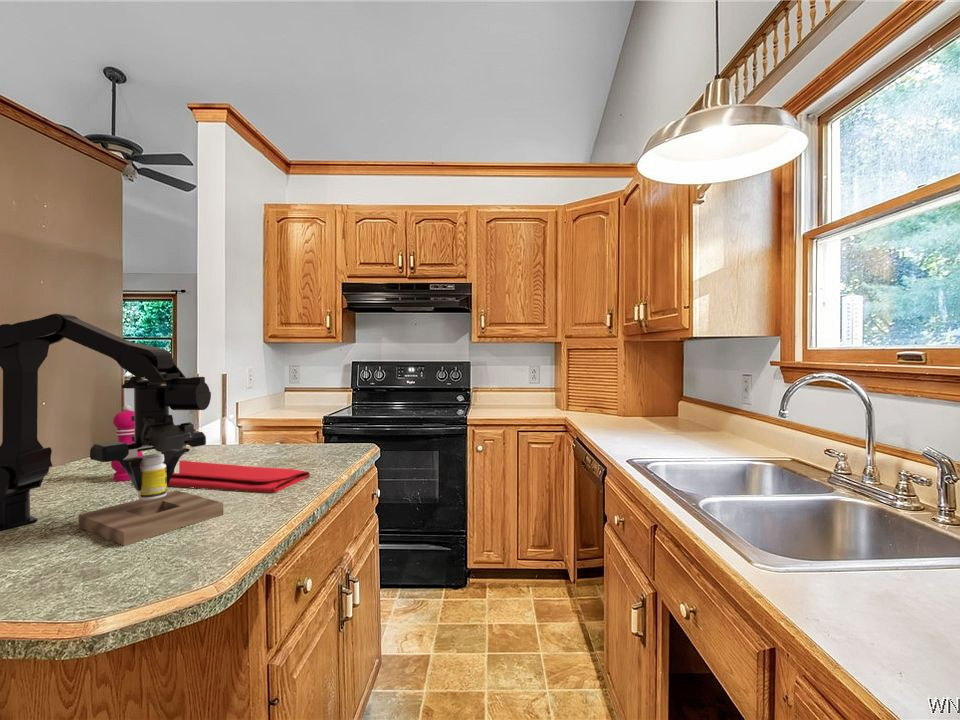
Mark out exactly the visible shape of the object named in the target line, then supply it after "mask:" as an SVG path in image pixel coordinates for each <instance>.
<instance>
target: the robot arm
mask: <svg viewBox="0 0 960 720" xmlns="http://www.w3.org/2000/svg"><path fill="white" fill-rule="evenodd" d="M64 339H67V340H70V341H72V342H74V343H77V344H78V345H81V346H83V347H85V348H88V349H90V350H92V351H95V352H97V353H99V354H102V355H104V356H107V357H108V358H110V359H113V360H114V361H115V362H116V363H117V364H118V365H119V366H120V368H121V369H123V370H124V371H126V372H127V373H129V374H131V375H132V376H131V377H130V379H128V380H127V381H125V382H124V383H123V384H122V385H121V388H122V389H133V401H134V402H133V408H134V409H133V411H134V416H131V421H134V430H135V436H132V441H133V442H135V443H129V444H126V443H122V442H118V440H117V441H116V440H115V441H107V442H101V443H100V442H99V443H93V445H92V446H91V448H90V450H89V460H94V461H97V462H101V463H107V462H108V463H111V461H118V462H119V463H120V464H121V465H122V467H123V468H124V469H125V471H126V472H127V474H128V476H129V478H130V480H131V481H130V482H131V483H132V485H133V487H134V489H135V490H136V491H137V492H138V491H140V490H141V470H140V464H141V461H142V459H143V458H141V457H138V452H139V451H141V452H145V451H150V450H155V451H157V452H160V454H164V462H163V463H164V464H166V468H167V469H166V471H167V484H169V482H170V479H171V476H172V474H173V471H174V469H175V466H176V464H177V462H178V461H180V458H181V457H182V456H183V455H185V454H186V453H188V452H190V450H191V449H190V448H187V445H188V446H189V447H191V448H196V447H202V446H206V445H207V436H206V435H205V433H204V432H203V431H196V430H195V426H194V424H193V423H192V422H189V421H188V422H182V423H180V424H175V422H174V417H173V414H170V411H169V410H170V409H171V410H172V411H205V410H206V409H208V407H209V405H210V403H211V399H212V393H211V391H210V390H211V389H210V387H209V385H208V384H207V382H206V377H205V376H193V377H186V376H185V375H184V373H183V372H182V371H181V370H180V368H179V367H178V365H177V364H176V363H175V361H174V358H173V354H172V353H171V352H170V351H168V350H167V349H165V348H161V347H156V346H152V345H149V344H148V345H147V344H142V343H137V342H133V341H129V340H127V339H125V338H123V337H120V336H118V335H116V334H113V333H112V332H109V331H107V330H104V329H102V328H100V327H97V326H95V325H93V324H91V323H88V322H87V321H84V320H82V319H80V318H79V317H77V316H75V315H72V314H66V313H65V314H64V313H51V314H48V315H45V316H43V317H39V318H35V319H29V320H24V321H20V322H19V321H18V322H16V323H15V322H14V323H13V324H12V323H4V324H0V368H1V370H2V437H1V438H2V439H1V440H2V441H1V444H0V531H3V530H7V529H11V528H15V527H19V526H23V525H24V526H25V525H28V524H31V523H35V522H38V520H39V519H38V517H35V516H33V515H31V492H30V491H31V490H33V489H37V488H41V486H42V484H43V480H44V478H45V477H46V476H47V475H48V473H49V472H50V471H49V470H50V468H52V467H53V464H52V453H53V452H52V448H51V447H49V446H48V447H44V446H43V445H42V444H41V442H40V441H39V439H38V406H39V405H38V400H39V399H38V397H39V396H38V395H39V393H38V391H39V388H38V386H39V385H38V383H39V381H38V380H39V374H38V372H39V369H40V367H41V366H42V364H43V363H44V361H45V360H46V358H47V357H48V354H49V349H50V345H55V344H56V343H59V342H62V341H63V340H64ZM163 383H165V384H163Z"/></svg>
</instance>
